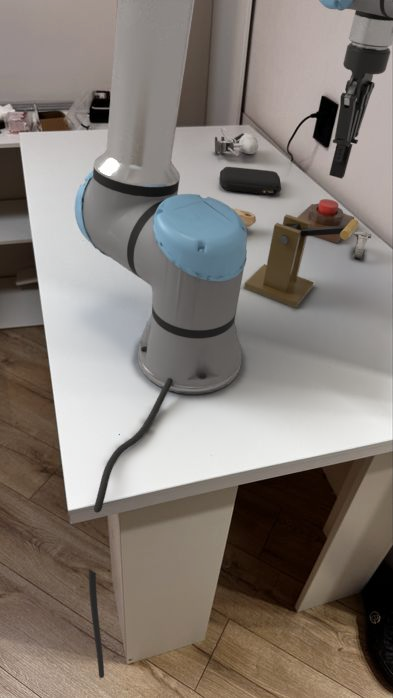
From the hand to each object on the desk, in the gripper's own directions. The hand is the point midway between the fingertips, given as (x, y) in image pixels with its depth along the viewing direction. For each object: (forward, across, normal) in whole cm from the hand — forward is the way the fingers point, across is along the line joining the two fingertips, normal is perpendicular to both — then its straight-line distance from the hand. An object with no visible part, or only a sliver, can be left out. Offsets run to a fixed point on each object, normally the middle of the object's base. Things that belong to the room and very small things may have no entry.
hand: (336, 175), depth 108 cm
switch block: (+12, 0, 0) cm, 12 cm away
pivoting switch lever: (0, -28, -7) cm, 29 cm away
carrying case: (+12, +8, +22) cm, 26 cm away
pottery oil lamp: (+12, -16, +16) cm, 26 cm away
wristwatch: (+12, -7, -10) cm, 17 cm away
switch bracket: (+11, -28, -2) cm, 31 cm away
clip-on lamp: (+12, +27, +36) cm, 46 cm away
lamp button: (+8, 0, 0) cm, 8 cm away
